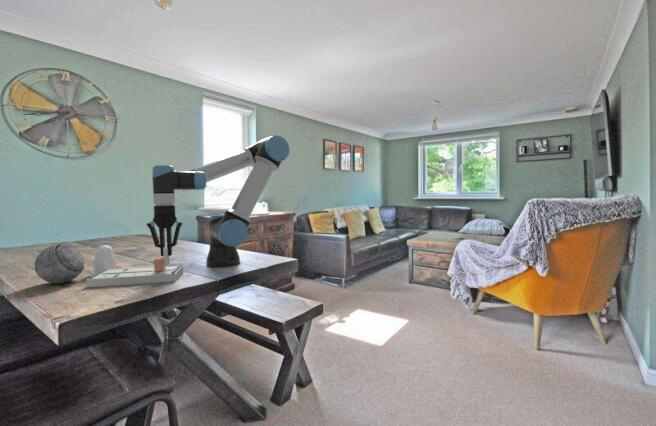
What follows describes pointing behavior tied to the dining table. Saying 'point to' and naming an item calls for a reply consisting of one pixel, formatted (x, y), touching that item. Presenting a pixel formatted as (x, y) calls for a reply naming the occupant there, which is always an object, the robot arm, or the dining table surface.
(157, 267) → the fader knob
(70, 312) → the dining table surface
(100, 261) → the figurine
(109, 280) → the board
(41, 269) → the grey rounded lump
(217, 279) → the dining table surface
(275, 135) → the robot arm
